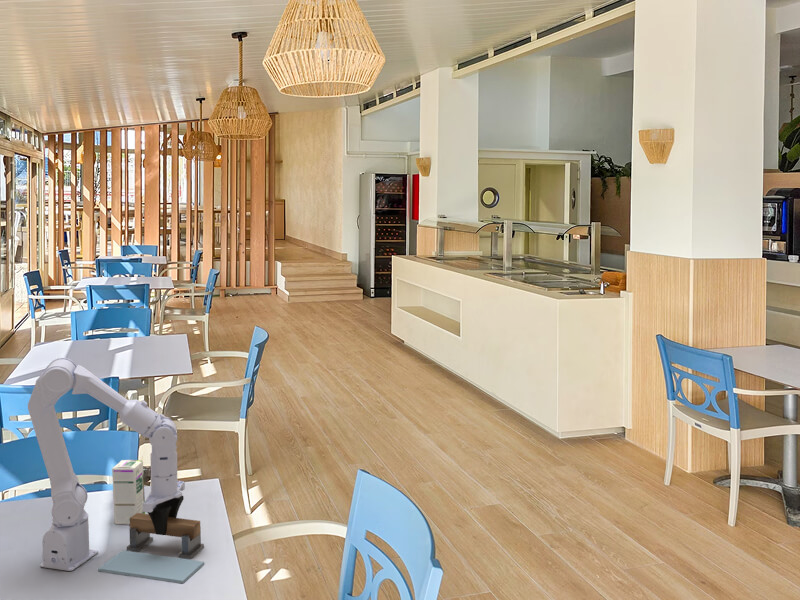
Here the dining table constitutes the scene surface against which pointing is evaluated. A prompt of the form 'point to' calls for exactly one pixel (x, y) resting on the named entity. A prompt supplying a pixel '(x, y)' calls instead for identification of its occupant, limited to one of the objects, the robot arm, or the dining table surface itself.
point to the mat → (151, 566)
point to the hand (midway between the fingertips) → (165, 531)
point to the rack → (143, 539)
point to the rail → (174, 525)
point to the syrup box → (128, 490)
